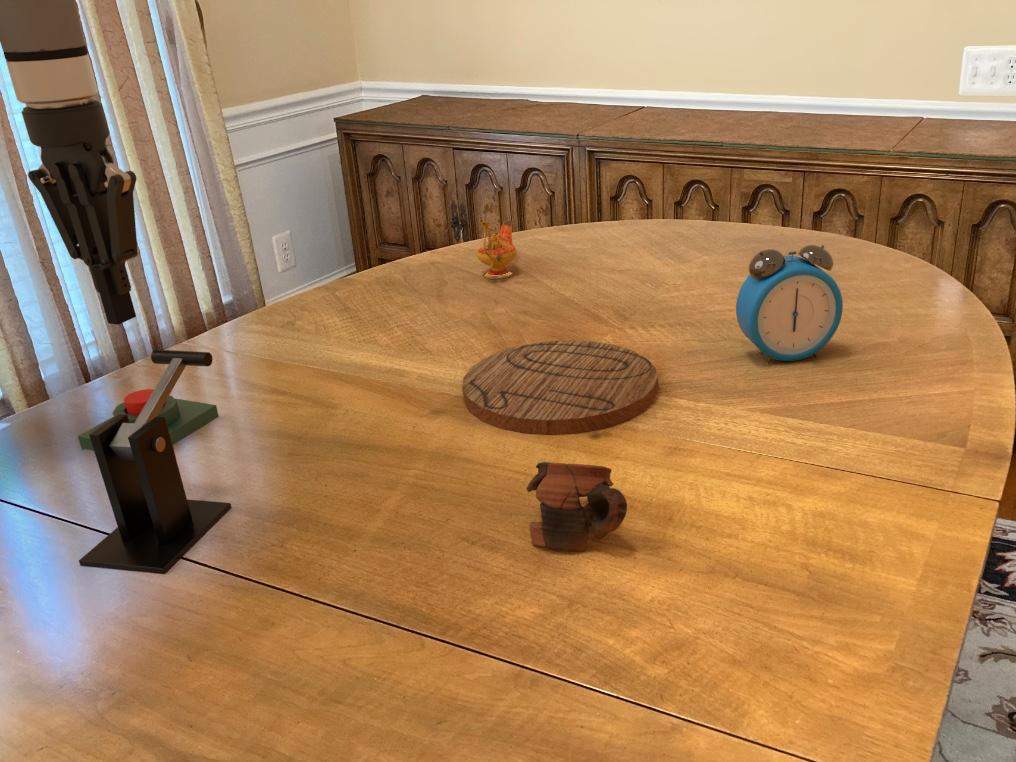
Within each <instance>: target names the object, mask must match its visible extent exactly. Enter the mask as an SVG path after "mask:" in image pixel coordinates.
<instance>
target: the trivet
mask: <svg viewBox="0 0 1016 762" xmlns="http://www.w3.org/2000/svg"><path fill="white" fill-rule="evenodd" d="M461 389H462V398H463V403H464V405H465V407H466V408H467V411H468V412H469V413H470V414H472V415H473V416H474V417H476V418H477V419H478V420H479V421H481V422H483V423H486V424H488V425H490V426H493V427H496V428H498V429H502V430H507V431H513V432H516V433H522V434H535V435H549V436H550V435H565V434H566V435H567V434H580V433H585V432H590V431H596V430H597V431H598V430H602V429H606V428H610V427H612V426H615V425H618V424H621V423H624V422H627V421H629V420H631V419H632V418H634V417H636V416H638V415H639V414H641V413H643V412H645V411H646V410H647V408H649V407H650V406H651V405H652V403H654V402H655V399H656V396H657V394H658V391H659V376H658V373H657V368H656V365H654V364H653V363H652V362H651V361H650V360H649V359H648V358H647V357H646V356H644V355H642V354H640V353H638V352H636V351H635V350H633V349H629V348H626V347H623V346H621V345H620V346H619V345H617V344H612V343H607V342H600V341H593V340H571V339H568V340H550V341H549V340H548V341H541V342H533V343H527V344H522V345H518V346H514V347H511V348H510V347H509V348H507V349H503V350H500V351H498V352H496V353H493V354H491V355H489V356H486V357H484V358H482V359H481V360H479V361H478V362H477V363H475V364H474V365H472V366H470V368H469V369H468V370H467V372H466V373H465V375H463V380H462V387H461Z"/></svg>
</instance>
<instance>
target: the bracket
mask: <svg viewBox="0 0 1016 762" xmlns="http://www.w3.org/2000/svg"><path fill="white" fill-rule="evenodd" d="M113 417H114V416H113ZM111 418H112V417H111ZM122 423H130V422H129V418H128V415H125V414H118V415H116V416H115V417H114V418H112V419H111V420H109V421H108V422H106V423H105V424H104V425H102V426H101V427H99V428H98V429H96V430H95V431H94V432H92V433H91V434H89V436H90V439H91V443H92V446H93V449H94V450H93V452H94V455H95V459H96V462H97V465H98V468H99V471H100V474H101V478H102V480H103V484H104V488H105V490H106V495H107V497H108V501H109V503H110V507H111V510H112V513H113V517H114V519H115V522H116V526H117V527H115V529H114V530H112V531H111V532H110V533H109V534H108V535H106V537H104V538H103V539H102V540H100V542H98V543H97V544H96V545H95V546H94V547H93V548H91V549H90V550H89V551H88V552H87V553H86V554H84V555H83V556H82V557H81V558H80V559H79V560H78V563H79V565H80V567H89V568H98V569H109V570H119V571H130V572H141V573H149V574H161V575H165V574H167V573H168V572H169V571H170V570H171V569H172V567H174V566H175V565H176V564H177V563H178V562H179V561H180V560H181V559H182V558H183V557H184V556H185V555H186V554H187V553H188V552H189V551H190V550H191V549H192V548H193V547H194V546H195V545H196V544H197V543H198V542H199V541H200V540H202V538H203V537H204V536H205V535H206V534H207V533H208V532H209V531H210V530H211V529H213V527H214V526H215V525H216V524H217V523H218V522H220V520H221V519H223V517H224V516H225V515H227V513H228V512H229V511H230V510H231V509H232V503H231V502H224V501H212V500H202V499H201V500H198V499H189V498H187V494H186V490H185V486H184V482H183V479H182V476H181V475H182V474H181V472H180V468H179V464H178V460H177V456H176V453H175V450H174V445H172V442H171V438H170V434H169V431H168V427H167V423H166V419H165V417H155V418H153V419H152V420H151V421H149V422H148V423H146V424H145V425H144V426H142V427H141V428H140V429H138V430H137V431H136V432H134V433H133V434H132V435H130V436H129V437H128V440H129V443H130V447H131V450H132V454H133V457H134V461H135V462H127V461H121V460H120V458H119V457H118V456H117V455H116V453H115V452H114V451H113V450H112V448H111V447H110V446H109V445H110V443H111V442H112V440H113V438H114V437H115V435H116V433H117V432H118V430H119V428H120V427H121V425H122Z"/></svg>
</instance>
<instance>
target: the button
mask: <svg viewBox="0 0 1016 762" xmlns="http://www.w3.org/2000/svg"><path fill="white" fill-rule="evenodd" d="M154 389H155V388H154ZM154 389H153V388H147V389H140V390H136V391H132V392H131V393H127V395H126V396H125V397H123V403H124V402H125V406H126V409H127V412H128V414H130V415H140V413H141V411H142V409H143V408H144V406H145V404H146V403H147V401H148V399H149V398H150V396H151V394H152V393H153V391H154ZM163 407H164V405H163ZM163 407H162V408H163Z"/></svg>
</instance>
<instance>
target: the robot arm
mask: <svg viewBox="0 0 1016 762" xmlns="http://www.w3.org/2000/svg"><path fill="white" fill-rule="evenodd" d="M0 46H1V49H2V53H3V56H4V59H5V62H6V67H7V70H8V73H9V77H10V80H11V84H12V88H13V91H14V94H15V98H16V100H17V101H18V102H19V103H21V104H25V107H23V108H22V111H21V116H22V119H23V123H24V126H25V128H26V132H27V135H28V138H29V142H30V143H31V144H32V145H33V146H36V147H39V148H40V160H41V161H40V162H41V164H40V165H39V166H38V168H36V169H33V170H30V171H28V172H27V177H28V179H29V181H30V182H31V184H33V186H34V187H35V188H36V190H37V191H38V192H39V194H40V195H41V198H42V200H43V202H44V204H45V206H46V208H47V210H48V212H49V214H50V217H51V218H52V222H54V225H55V227H56V229H57V232H58V233H59V235H60V237H61V240H62V242H63V244H64V246H65V248H66V250H67V252H68V254H69V256H70V258H71V259H73V260H78V259H79V260H81V261H83V263H84V264H85V266H88V268H89V272H90V275H91V279H92V281H93V282H92V283H93V285H94V288H95V290H96V292H97V293H98V294H99V297H100V300H101V304H102V308H103V310H104V314H105V318H106V321H107V324H109V325H116V326H118V325H121V324H123V323H125V322H128V321H130V320H132V319H135V318H136V317H137V314H136V310H135V307H134V303H133V300H132V299H133V298H132V295H131V291H132V285H131V281H130V279H129V275H128V271H127V267H126V262H127V261H130V260H131V259H133V258H136V257H138V256H139V255H138V254H139V252H138V239H137V237H138V236H137V226H136V225H137V224H136V214H135V213H136V212H135V199H134V190H135V188H136V187H135V186H136V183H137V175H136V173H135V172H134V171H132V170H127V171H123V170H122V169H121V168H120V167H118V166H117V165H116V164H115V162H114V157H113V156H112V154H111V152H110V151H109V149H108V148H107V144H106V142H107V141H106V140H107V139H108V137H109V136H110V129H109V125H108V121H107V118H106V114H105V109H104V107H103V104H102V103H101V102H100V101H99V100H97V99H95V98H94V97H96V96H98V94H99V89H98V86H97V85H98V84H97V81H96V78H95V74H94V70H93V66H92V63H91V62H92V61H91V59H90V55H89V52H88V48H87V46H86V42H85V38H84V33H83V30H82V26H81V22H80V17H79V14H78V9H77V4H76V0H0Z"/></svg>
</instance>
